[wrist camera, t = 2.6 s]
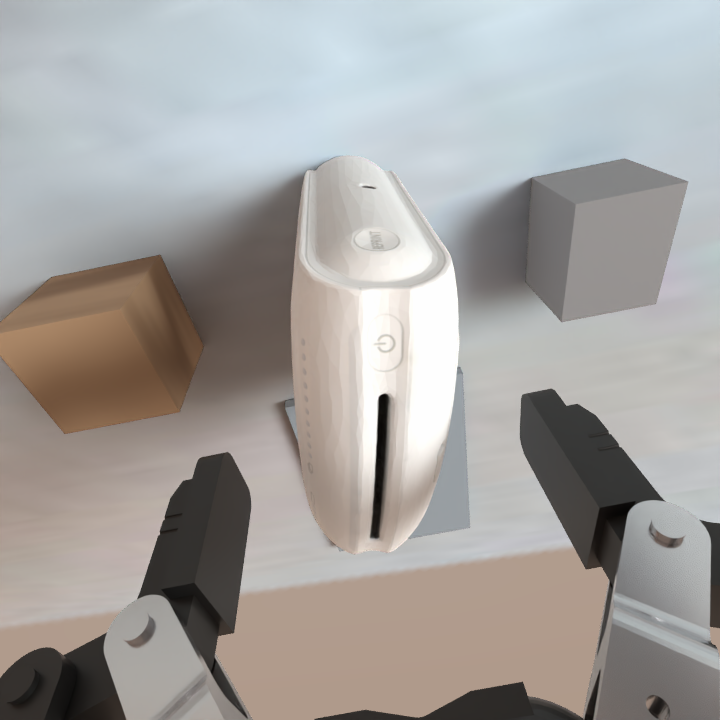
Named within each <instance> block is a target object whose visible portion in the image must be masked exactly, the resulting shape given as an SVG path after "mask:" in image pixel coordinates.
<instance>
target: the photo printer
mask: <svg viewBox="0 0 720 720" xmlns="http://www.w3.org/2000/svg"><path fill="white" fill-rule="evenodd" d="M291 344H292V368H293V388H294V400H295V413H296V424H297V435H298V444H299V452H300V460H301V467H302V474H303V481H304V486H305V491H306V495H307V499H308V503H309V506H310V508H311V511H312V514H313V516H314V518H315V520H316V521H317V523H318V525H319V526H320V528H321V529H322V531H323V532H324V534H325V535H326V536H327V537H328V538H329V539H330V540H331V541H332V542H333V543H334V544H335V545H337V546H338V547H340V548H341V549H343V550H345V551H347V552H349V553H351V554H359V553H361V552H364V551H368V550H377V551H381V552H386V553H389V552H391V551H393V550H395V549H396V548H398V547H399V546H400V545H401V544H403V543H404V542H405V541H406V540H407V539H408V538H409V537H410V535H411V534H412V533H413V532H414V530H415V529H416V528H417V526H418V525H419V523H420V521H421V520H422V518H423V516H424V514H425V512H426V510H427V508H428V505H429V503H430V501H431V497H432V495H433V491H434V489H435V486H436V483H437V480H438V477H439V473H440V470H441V466H442V461H443V457H444V452H445V448H446V443H447V438H448V433H449V427H450V421H451V414H452V407H453V401H454V393H455V383H456V374H457V364H458V352H459V332H458V297H457V287H456V280H455V272H454V267H453V263H452V259H451V256H450V253H449V252H448V250H447V249H446V247H445V246H444V245H443V243H442V242H441V241H440V239H439V238H438V236H437V235H436V233H435V232H434V230H433V229H432V227H431V226H430V224H429V223H428V221H427V220H426V218H425V217H424V215H423V214H422V213H421V211H420V210H419V208H418V207H417V205H416V204H415V202H414V201H413V199H412V198H411V196H410V195H409V193H408V192H407V190H406V189H405V187H404V186H403V184H402V182H401V181H400V179H399V178H398V177H397V175H396V174H395V173H394V172H393V171H383V170H382V169H381V168H380V167H379V166H378V165H376V164H375V163H373V162H372V161H370V160H368V159H366V158H363V157H359V156H350V155H346V156H339V157H335V158H332V159H330V160H328V161H326V162H325V163H323V164H322V165H320V166H319V167H318V169H317V170H315V171H313V170H308V171H307V172H306V173H305V176H304V180H303V185H302V191H301V199H300V208H299V216H298V227H297V237H296V248H295V260H294V272H293V283H292V295H291Z"/></svg>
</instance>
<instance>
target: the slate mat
mask: <svg viewBox="0 0 720 720" xmlns="http://www.w3.org/2000/svg"><path fill="white" fill-rule="evenodd" d="M285 409H286V412H287V415H288V417H289V420H290V423H291V425H292V428H293V430H294V433H295V436H296V438H297V441H298V435H297V424H296V413H295V400H294V399H292V400H287V401H285ZM466 528H470V517H469V496H468V474H467V452H466V431H465V409H464V388H463V373H462V370H461V368H460V367H457V374H456V383H455V393H454V401H453V407H452V414H451V421H450V427H449V433H448V438H447V443H446V448H445V452H444V457H443V461H442V466H441V470H440V473H439V477H438V480H437V483H436V486H435V489H434V491H433V495H432V497H431V501H430V503H429V505H428V508H427V510H426V512H425V514H424V516H423V518H422V520H421V521H420V523H419V525H418V526H417V528H416V529H415V530H414V532H413V533H412V534H411V535H410V537H409V538H408V539H411V538H416V537H422V536H427V535H433V534H438V533H444V532H449V531H455V530H460V529H466ZM338 549H339V551H345V550H343V549H341V548H340V547H338Z"/></svg>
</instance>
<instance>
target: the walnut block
mask: <svg viewBox="0 0 720 720" xmlns="http://www.w3.org/2000/svg"><path fill="white" fill-rule="evenodd" d="M203 347H204V346H203V344H202V342H201V340H200V338H199V335H198V333H197V331H196V329H195V327H194V325H193V323H192V321H191V319H190V316H189V314H188V312H187V310H186V308H185V306H184V304H183V302H182V300H181V297H180V295H179V293H178V291H177V289H176V287H175V285H174V283H173V281H172V278H171V276H170V274H169V272H168V270H167V268H166V266H165V264H164V262H163V259H162V257H161V255H157V256H152V257H147V258H142V259H137V260H133V261H128V262H123V263H118V264H113V265H108V266H103V267H98V268H94V269H89V270H84V271H79V272H74V273H69V274H64V275H59V276H55V277H51V278H50V279H49V280H48V281H47V282H46V283H44V284H43V285H42V286H41V287H40V288H39V289H38V290H36V291H35V292H34V293H33V294H32V295H31V296H30V297H29V298H27V299H26V300H25V301H24V302H23V303H22V304H21V305H19V306H18V307H17V308H16V309H15V310H14V311H13V312H11V313H10V314H9V315H8V316H7V317H6V318H5V319H3V320H2V321H1V322H0V356H1V357H2V359H3V360H4V361H5V362H6V364H7V365H8V366H9V367H10V368H11V370H12V371H13V372H14V373H15V374H16V376H17V377H18V378H19V379H20V380H21V382H22V383H23V384H24V385H25V387H26V388H27V389H28V390H29V391H30V393H31V394H32V395H33V396H34V397H35V399H36V400H37V401H38V402H39V404H40V405H41V406H42V407H43V408H44V410H45V411H46V412H47V413H48V414H49V416H50V417H51V418H52V419H53V420H54V422H55V423H56V424H57V425H58V427H59V428H60V429H61V430H62V431H63V433H64V434H68V433H73V432H78V431H83V430H88V429H94V428H99V427H104V426H109V425H114V424H120V423H125V422H130V421H135V420H141V419H146V418H151V417H156V416H161V415H167V414H172V413H177V412H180V409H181V407H182V404H183V401H184V398H185V396H186V393H187V390H188V388H189V385H190V382H191V379H192V377H193V374H194V371H195V369H196V366H197V363H198V360H199V358H200V355H201V352H202V350H203Z"/></svg>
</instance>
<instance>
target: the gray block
mask: <svg viewBox="0 0 720 720" xmlns="http://www.w3.org/2000/svg"><path fill="white" fill-rule="evenodd" d="M687 185H688V181H685V180H682V179H679V178H677V177H674V176H671V175H668V174H666V173H663V172H660V171H657V170H655V169H652V168H649V167H646V166H644V165H641V164H638V163H635V162H633V161H630V160H627V159H620V160H615V161H611V162H606V163H601V164H596V165H591V166H586V167H581V168H576V169H571V170H566V171H561V172H557V173H552V174H547V175H542V176H537V177H532V178H531V195H530V212H529V229H528V247H527V264H526V281H525V282H526V283H527V284H528V285H529V286H530V288H531V289H532V290H533V291H534V292H535V293H536V294H537V295H538V296H539V298H540V299H541V300H542V301H543V302H544V303H545V304H546V305H547V306H548V308H549V309H550V310H551V311H552V312H553V313H554V314H555V315H556V316H557V318H558V319H559V320H560V321H561V322H565V321H570V320H575V319H581V318H586V317H591V316H596V315H601V314H606V313H612V312H617V311H622V310H627V309H632V308H637V307H642V306H648V305H653V304H656V302H657V298H658V294H659V291H660V287H661V283H662V279H663V276H664V272H665V268H666V264H667V260H668V257H669V253H670V249H671V245H672V242H673V238H674V234H675V230H676V226H677V223H678V219H679V215H680V211H681V208H682V204H683V200H684V196H685V192H686V189H687Z"/></svg>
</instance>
